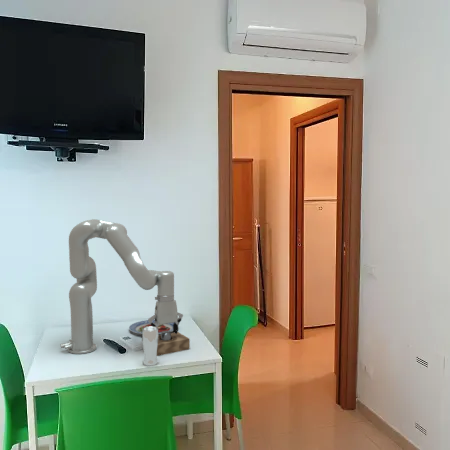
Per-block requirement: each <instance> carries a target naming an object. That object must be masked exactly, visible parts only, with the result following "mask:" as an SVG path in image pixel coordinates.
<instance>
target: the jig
mask: <svg viewBox="0 0 450 450" xmlns="http://www.w3.org/2000/svg"><path fill="white" fill-rule="evenodd" d="M158 336H159V341H158V348H157V357H159V356H163V355H169V354H172V353H173V354H174V353H178V352H183V351H188V350H190V345H191V343H190V341H191V340H190V337H187V336H186V335H184V334H183V333H180V332H179V331H177V334H176V333H174V332H171V340H168V341H163V340H161V334H159V335H158Z"/></svg>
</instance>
